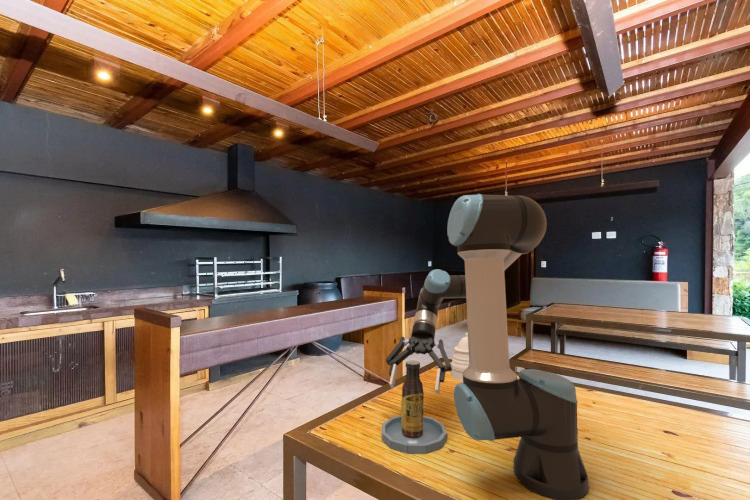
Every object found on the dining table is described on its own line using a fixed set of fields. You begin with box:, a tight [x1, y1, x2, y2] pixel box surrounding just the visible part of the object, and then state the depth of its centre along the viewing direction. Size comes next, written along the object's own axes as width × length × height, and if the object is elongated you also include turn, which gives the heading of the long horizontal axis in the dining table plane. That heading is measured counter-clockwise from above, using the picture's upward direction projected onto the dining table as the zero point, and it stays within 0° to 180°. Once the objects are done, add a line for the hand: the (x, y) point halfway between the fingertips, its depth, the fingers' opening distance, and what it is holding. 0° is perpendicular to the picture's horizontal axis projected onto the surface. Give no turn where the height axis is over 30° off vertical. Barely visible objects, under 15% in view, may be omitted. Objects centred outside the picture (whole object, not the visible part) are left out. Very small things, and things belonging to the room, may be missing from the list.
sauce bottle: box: [401, 360, 425, 437], centre depth 98 cm, size 6×6×20 cm
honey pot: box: [450, 332, 469, 382], centre depth 148 cm, size 13×13×18 cm
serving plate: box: [381, 414, 448, 455], centre depth 98 cm, size 18×18×2 cm
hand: (413, 389), depth 100 cm, fingers open, 13 cm apart
